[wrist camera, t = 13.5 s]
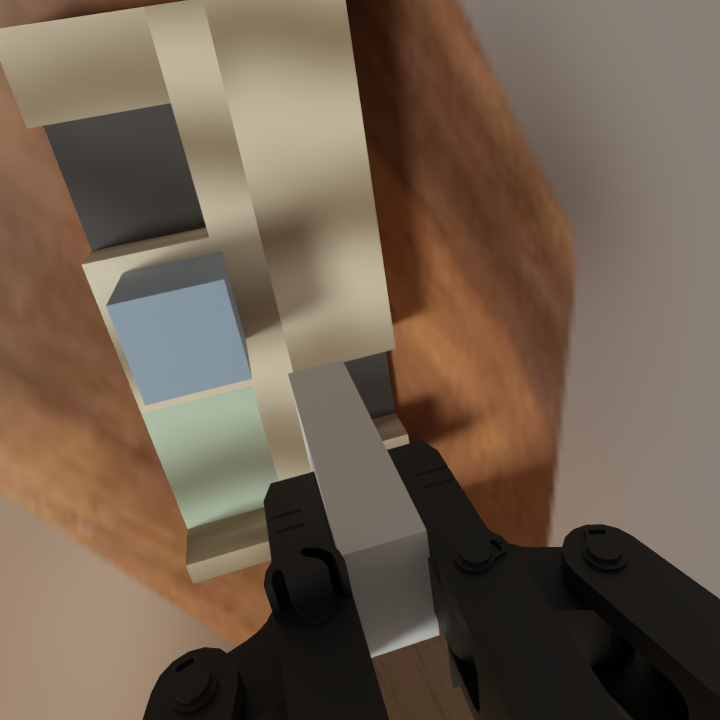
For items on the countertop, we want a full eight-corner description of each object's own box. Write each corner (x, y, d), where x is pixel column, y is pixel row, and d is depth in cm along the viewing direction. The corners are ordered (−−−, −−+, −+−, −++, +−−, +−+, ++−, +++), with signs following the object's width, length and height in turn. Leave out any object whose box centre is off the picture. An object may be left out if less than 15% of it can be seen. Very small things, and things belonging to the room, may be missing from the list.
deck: (11, 37, 20) (-43, 21, 16) (329, -12, 22) (358, -39, 18) (195, 514, 31) (193, 583, 26) (400, 456, 33) (430, 512, 28)
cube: (122, 273, 22) (106, 306, 19) (221, 251, 23) (223, 279, 19) (154, 360, 24) (145, 405, 21) (246, 338, 25) (252, 378, 21)
